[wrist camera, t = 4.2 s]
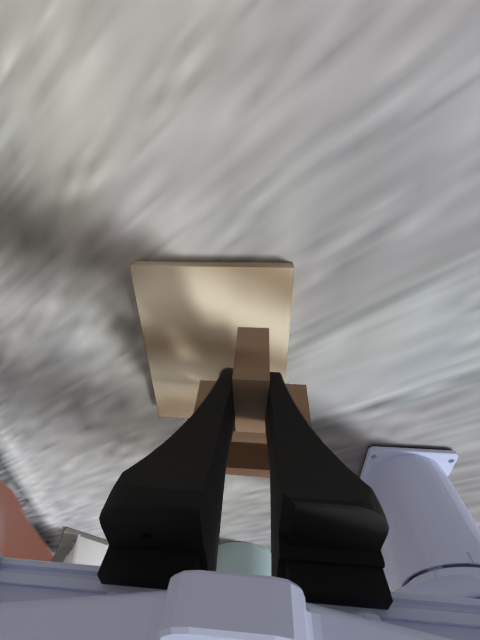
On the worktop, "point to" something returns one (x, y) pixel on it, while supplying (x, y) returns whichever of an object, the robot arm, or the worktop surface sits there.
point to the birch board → (207, 321)
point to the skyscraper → (80, 548)
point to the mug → (243, 559)
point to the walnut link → (252, 402)
